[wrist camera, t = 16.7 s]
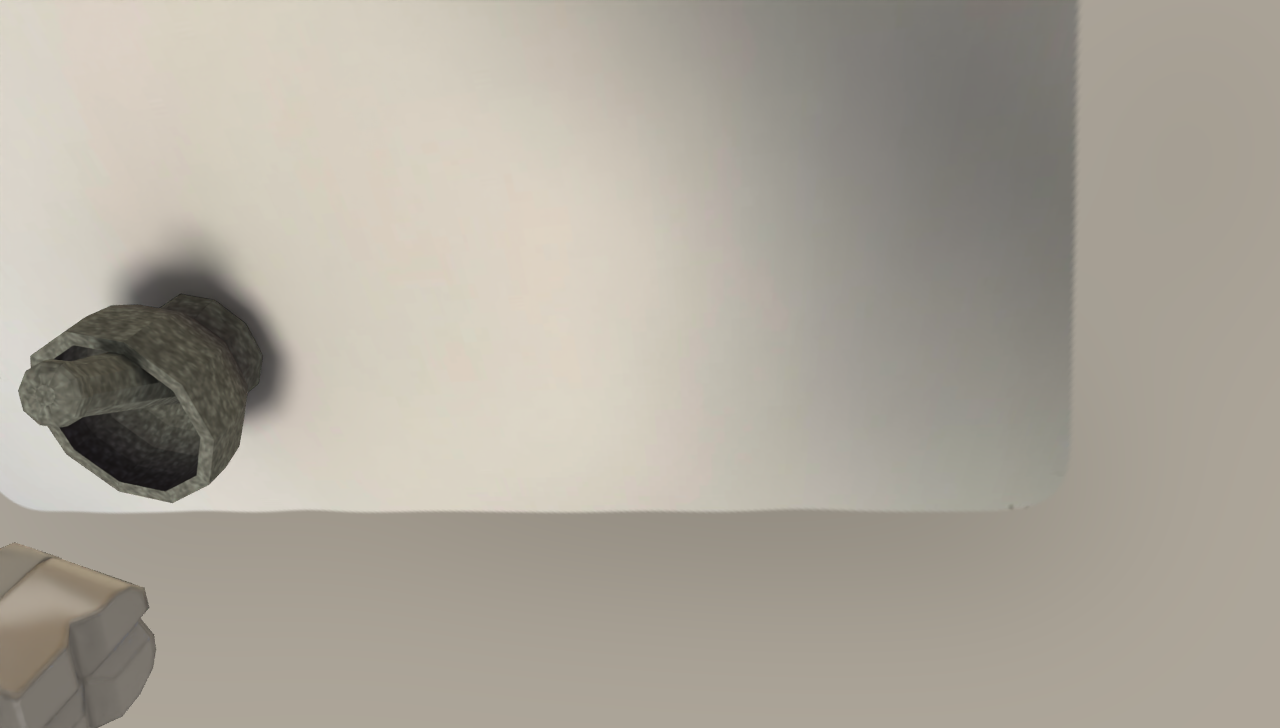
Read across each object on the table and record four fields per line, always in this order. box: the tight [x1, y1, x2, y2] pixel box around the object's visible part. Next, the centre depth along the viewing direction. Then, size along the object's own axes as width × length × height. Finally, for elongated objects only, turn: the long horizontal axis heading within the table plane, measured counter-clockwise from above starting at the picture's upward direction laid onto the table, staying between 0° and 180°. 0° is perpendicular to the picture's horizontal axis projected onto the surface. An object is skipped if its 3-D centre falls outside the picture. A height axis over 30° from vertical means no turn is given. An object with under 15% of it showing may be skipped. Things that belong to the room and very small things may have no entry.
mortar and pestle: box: [18, 294, 263, 503], centre depth 47 cm, size 11×9×12 cm
